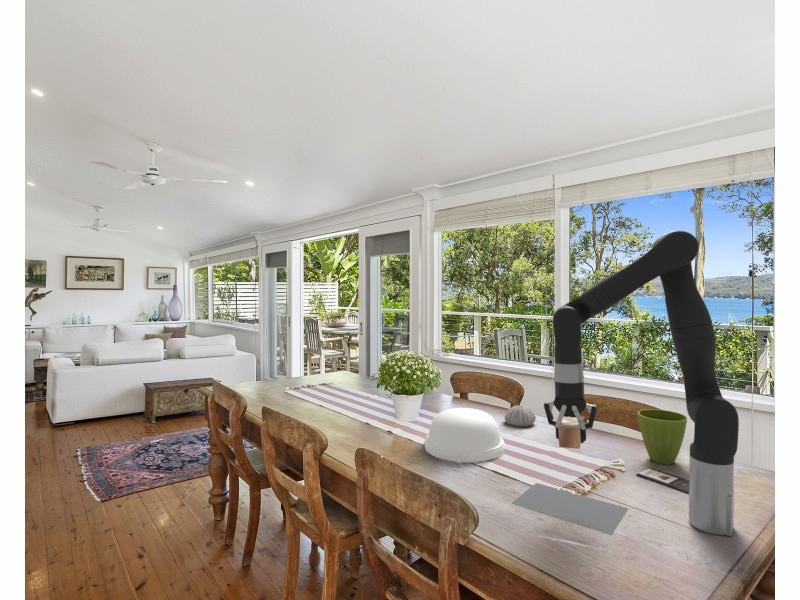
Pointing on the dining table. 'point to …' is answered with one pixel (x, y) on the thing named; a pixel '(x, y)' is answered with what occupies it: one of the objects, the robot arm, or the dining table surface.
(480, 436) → the dome cover
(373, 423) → the dining table surface
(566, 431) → the birch block
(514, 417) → the sea urchin shell
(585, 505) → the rubber mat
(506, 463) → the dining table surface
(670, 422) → the flower pot
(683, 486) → the chocolate bar
